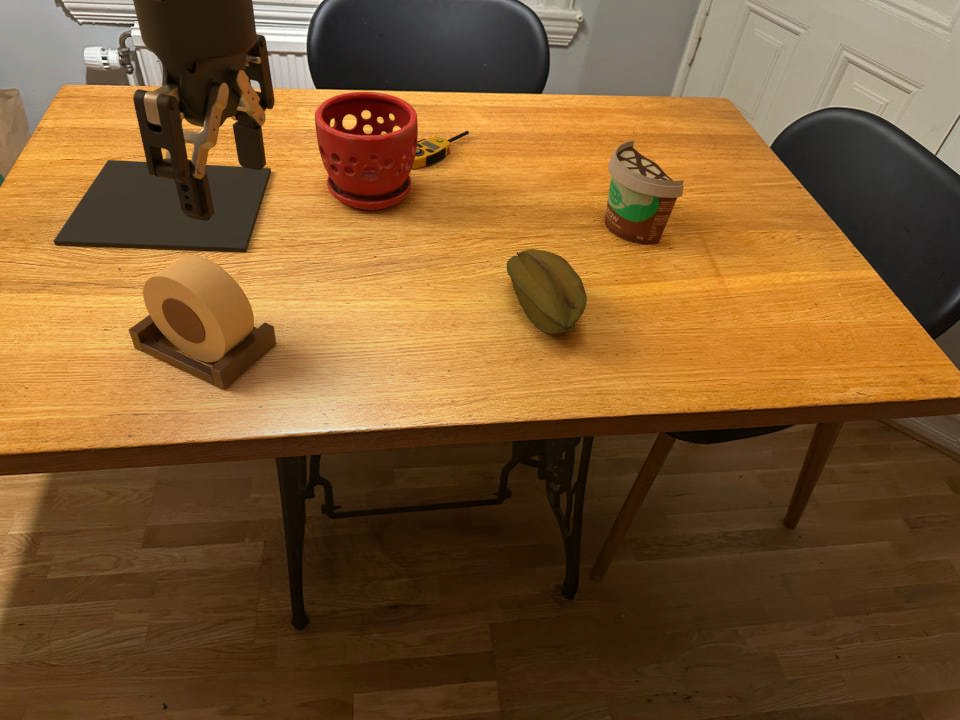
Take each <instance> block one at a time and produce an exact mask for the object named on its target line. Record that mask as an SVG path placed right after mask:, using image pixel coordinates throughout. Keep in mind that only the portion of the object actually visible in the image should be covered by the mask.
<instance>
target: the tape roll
mask: <svg viewBox="0 0 960 720" xmlns="http://www.w3.org/2000/svg"><path fill="white" fill-rule="evenodd" d="M142 298H143V303H144V305H145V308H146V311H147V313H148V315H150V316H151V318H152V320H153V321H154V323H155V324H156V326H157V327H158V329H159V330H160V331H161V332H162V334H163V335H164V337H165V338H166V339H167V340H168V341H169V342H170V343H171V344H172V345H173V346H174V347H175V348H176V349H178V350H180V351H181V352H182V353H184V355H186V356H188V357H190V358H192V359H194V360H196V361H199V362H204V363H217V362H218V361H219V360H220V359H222V358H223V357H224V356H225V355H226V354H228V353H229V352H230V351H231V350H232V349H234V348H235V347H236V346H237V345H238V344H239V343H241V342H242V341H243V340H244V339H245V338H246V337H248V336H249V335H250V334H251V332H252V330H253V327H255V316H254V310H253V308H252V305H251V303H250V300H249V298H248V297H247V295H246V293H245V291H244V290H243V289H242V287H241V285H240V284H239V283H238V281H236V279H235V278H234V277H233V276H232V275H231V274H230V273H229V272H227V270H225V269H224V268H223V267H222V266H221V265H219V264H218V263H216V262H214V261H213V260H211V259H209V258H207V257H204V256H201V255H198V254H185V255H182V256H180V257H179V258H178V259H176V260H175V261H173V262H171V263H170V264H168V265H167V266H165V267H163V268H162V269H161V270H159V271H157V272H156V273H155V274H153V275H152V276H150V277H149V278H148V279H146V280H145V283H144V284H143V287H142Z"/></svg>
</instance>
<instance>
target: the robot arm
mask: <svg viewBox="0 0 960 720" xmlns="http://www.w3.org/2000/svg"><path fill="white" fill-rule="evenodd" d="M132 2H133V6H134V11H135V15H136V19H137V23H138V28H139V32H140V37H141V40H142V42H143V44H144V46H145V47H146V48H147V49H148V50H149V51H150V52H152V53H153V54H154V55H155V57H157V59H158V60H159V62H160V63H161V69H162V81H161V86H159V87H158V88H155V89H154V90H145V89H141V88H138V89H135V91H134V93H133V95H132V96H133V97H132V99H133V106H134V111H135V115H136V119H137V124H138V129H139V134H140V138H141V144H142V147H143V152H144V157H145V162H147V167H148V171H149V174H150V175H151V176H155V177H161V178H166V179H171V180H175V184H176V188H177V193H178V197H179V201H180V205H181V210H182V211H183V213H184V214H185V215H186V216H188V217H189V218H193V219H198V220H202V221H209V220H210V219H211V218H212V217H213V216H214V214H215V212H214V207H213V202H212V197H211V192H210V187H209V181H208V176H207V174H205V169H206V165H207V162H208V157H209V152H210V150H211V149H213V148H216V146H217V143H218V138H219V133H220V132H219V131H220V127H222V126H223V124H224V123H225V122H226V120H227V119H229V118H230V119H232V120H233V121H235V122H234V123H233V124H232V128H233V129H232V130H233V137H234V143H235V149H236V155H237V161H238V164H239V165H240V167H245V168H250V169H254V170H261V169H262V168H265V167H266V164H267V159H266V149H265V144H264V136H263V127H262V126H264V125H265V122H266V117H267V116H266V110H273V108H274V106H275V103H276V101H275V100H276V99H275V93H274V87H273V79H272V73H271V65H270V60H269V52H268V46H267V39H266V37H265V35H264V34H260V33H257V28H256V19H255V12H254V10H255V9H254V4H253V3H254V2H253V0H132ZM251 81H254V82H257V83H258V84H259V90H260V91H257V90H255V89H254V88H253V86H252V84H251ZM183 120H185V121H186V122H187V123H189V124H190V125H192V126H196V127H199V128H200V127H201V130H199V131H192V130H188V129H184V128H183ZM186 144H192V145H193V148H192V154H191V159H189V156H188V151H187V146H186ZM162 149H164V150H166V154H165V158H164V156H163V151H162Z"/></svg>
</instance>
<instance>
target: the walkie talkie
mask: <svg viewBox="0 0 960 720" xmlns="http://www.w3.org/2000/svg"><path fill="white" fill-rule="evenodd" d="M469 134H470V131H469V130H465V131H463V132H461V133H459V134H456V135H454V136H453V137H450V138H449V139H445V138H444V137H440V136H433V137H429V138H423V139H420V140H417V149H416V155H415V160H414V163H413V167H412V169H413V170H416V169H420V168H423V167H430V166H432V165H435V164H438V163H439V162H441V161H442V160H444V159H445V158H446V156H448V154H449V153H450V151H451V143H453V142H456V141H457V140H459V139H461V138H463V137H465V136H468V135H469ZM412 169H411V170H412Z"/></svg>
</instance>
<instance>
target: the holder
mask: <svg viewBox="0 0 960 720" xmlns="http://www.w3.org/2000/svg"><path fill="white" fill-rule="evenodd" d="M128 333H129V335H130V338H131V342H132V344H133V348H134V349H136V350H138V351H139V352H142V353H145V354H146V355H148V356H151V357H153V358H156V359H158V360H160V361H161V362H164V363H166V364H168V365H171V366H172V367H175V368H176V369H179V370H181V371H183V372H185V373H187V374H189V375H192V376H193V377H196V378H197V379H200V380H202V381H204V382H206V383H208V384H210V385H213V386H215V387H217V388H219V389H221V390H223V391H225V390H226V389H227V388H228V387H230V386H231V385H232V384H233V383H234V382H235V381H236V380H238V378H240V377H241V376H242V375H243V374H244V373H245V372H246V371H248V370H249V369H250V368H251V367H252V366H253V365H254V364H255V363H256V362H258V361H259V360H260V359H261V358H263V356H265V354H267V353H268V352H269V351H270V350H272V348H273V347H274V346H276V345H277V339H276V332H275V326H274V325H272V324H271V323H268V322H263V323H262V324H261V325H260V326H259V327H257V326H254V327H253V330H252V332H251V334H250V335H249V336H248V337H246V338H245V339H244V340H243V341H242V342H240V343H239V344H238V345H237V346H236V347H234V348H233V349H232V350H231V351H230V352H229V353H227V354H226V355H225V356H224V357H223V358H221V359H220V360H218V361H216V362H215V363H214V364H213V365H212V366H209V365H207V364H205V363H202V362H201V361H199V360H197V359H195V358H192V357H191V356H188V355H186V354H183V353H181V352H178V351H177V350H174V349H172V348H170V347H168V346H166V345H164V344H162V343H160V342H159V341H160V340H162V339H163V338H164V337H165V336H164V335H163V334H162V332H161V331H160V330H159V329H158V327H157V326H156V324H155V323H154V321H153V320H152V318H151V316H150V315H149V314H148V315H147V316H145V317H144V318H143V319H141V320H140V321H139V322H136V324H134V325H133V326H131V327H130V328H129V329H128Z"/></svg>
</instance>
